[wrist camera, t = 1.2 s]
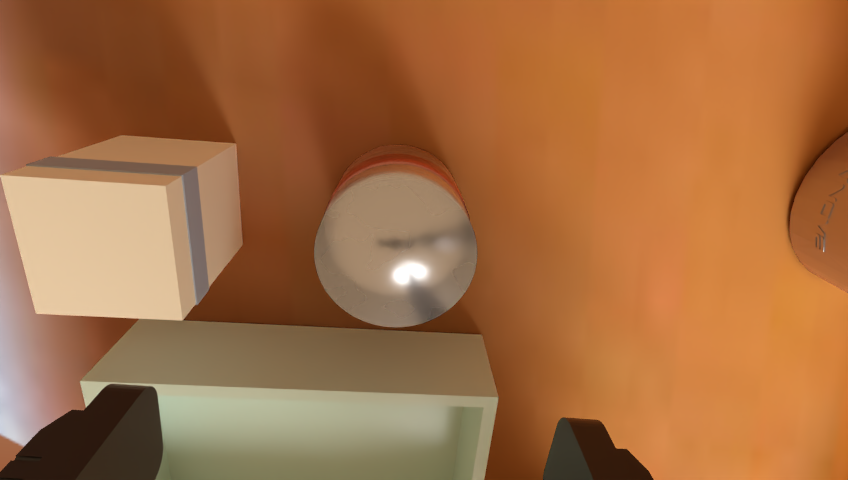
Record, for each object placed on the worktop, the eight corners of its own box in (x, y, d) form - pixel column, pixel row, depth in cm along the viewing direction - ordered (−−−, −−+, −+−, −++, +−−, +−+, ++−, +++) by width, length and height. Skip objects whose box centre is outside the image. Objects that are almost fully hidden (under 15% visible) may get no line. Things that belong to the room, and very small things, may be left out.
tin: (467, 148, 22) (488, 183, 17) (453, 266, 25) (468, 331, 19) (335, 138, 22) (312, 171, 16) (333, 259, 24) (313, 324, 19)
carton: (237, 142, 22) (166, 184, 15) (244, 245, 24) (183, 321, 17) (120, 133, 21) (-3, 173, 15) (137, 239, 23) (34, 314, 17)
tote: (481, 334, 26) (498, 397, 21) (458, 493, 31) (467, 573, 26) (139, 318, 25) (79, 381, 20) (167, 486, 29) (123, 569, 25)
